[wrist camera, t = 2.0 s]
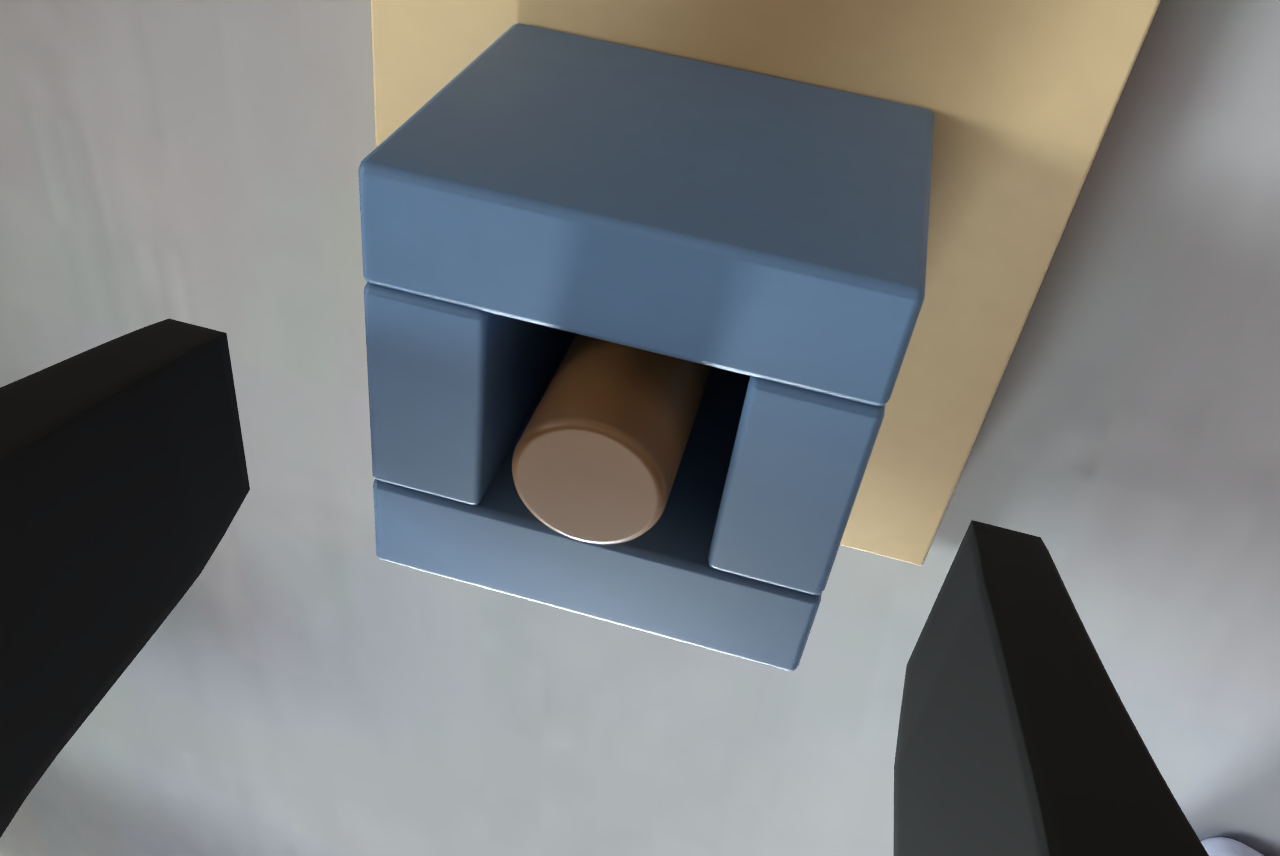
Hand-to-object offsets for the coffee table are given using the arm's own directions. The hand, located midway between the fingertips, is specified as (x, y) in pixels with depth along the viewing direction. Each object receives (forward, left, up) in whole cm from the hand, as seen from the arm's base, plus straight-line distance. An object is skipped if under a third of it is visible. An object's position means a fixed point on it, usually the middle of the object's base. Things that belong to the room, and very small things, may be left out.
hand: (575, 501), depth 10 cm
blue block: (0, 0, -5) cm, 5 cm away
